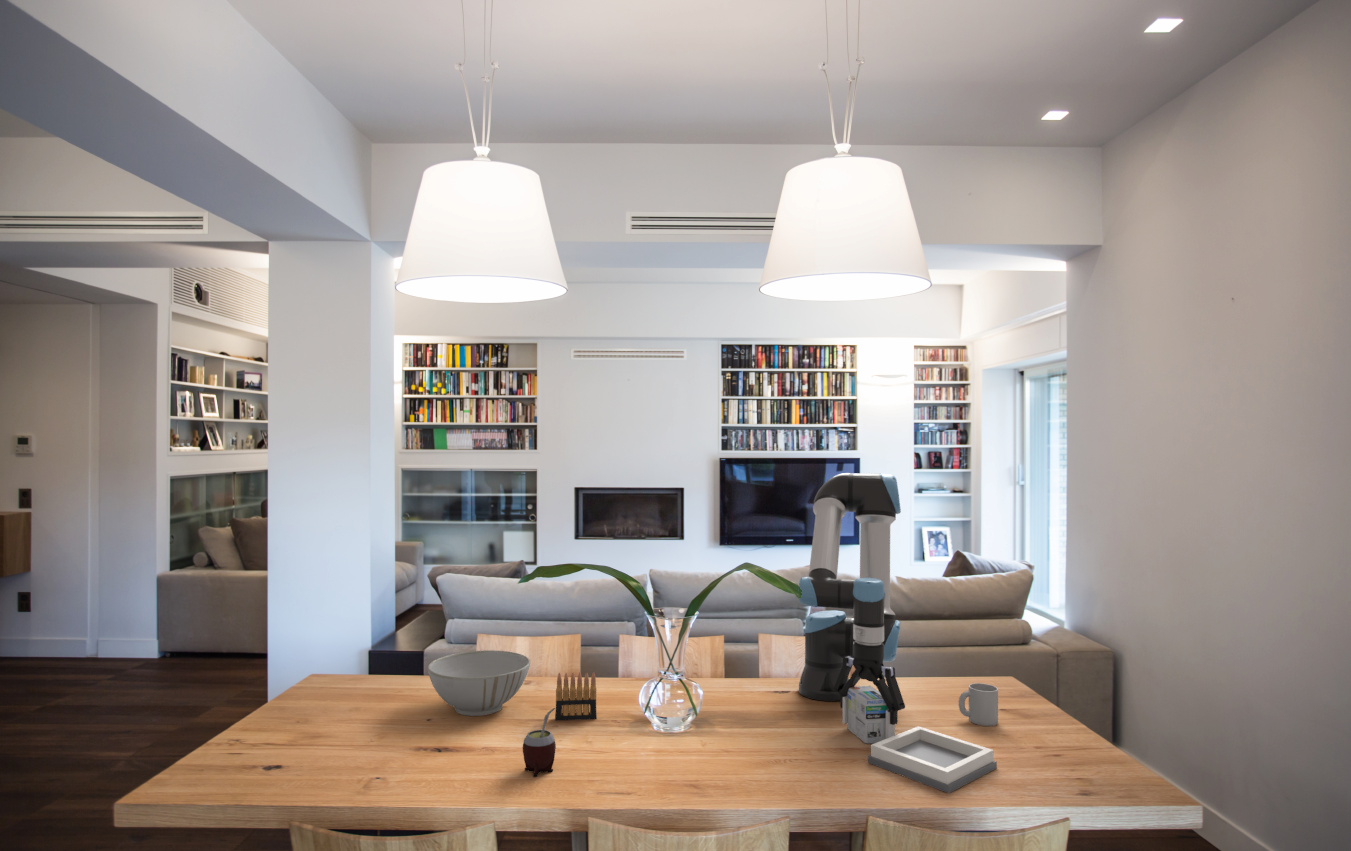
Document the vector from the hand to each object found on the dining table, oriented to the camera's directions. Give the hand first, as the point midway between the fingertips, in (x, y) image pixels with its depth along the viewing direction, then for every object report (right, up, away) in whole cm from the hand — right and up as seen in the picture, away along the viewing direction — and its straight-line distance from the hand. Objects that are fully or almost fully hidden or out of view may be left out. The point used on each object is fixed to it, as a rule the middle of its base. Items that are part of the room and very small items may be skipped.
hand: (868, 729), depth 192 cm
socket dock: (+10, -1, -18) cm, 20 cm away
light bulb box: (0, -2, 0) cm, 2 cm away
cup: (+31, -2, +11) cm, 33 cm away
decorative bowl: (-101, -1, +17) cm, 102 cm away
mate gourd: (-77, 0, -23) cm, 81 cm away
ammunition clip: (-74, -1, +10) cm, 74 cm away
